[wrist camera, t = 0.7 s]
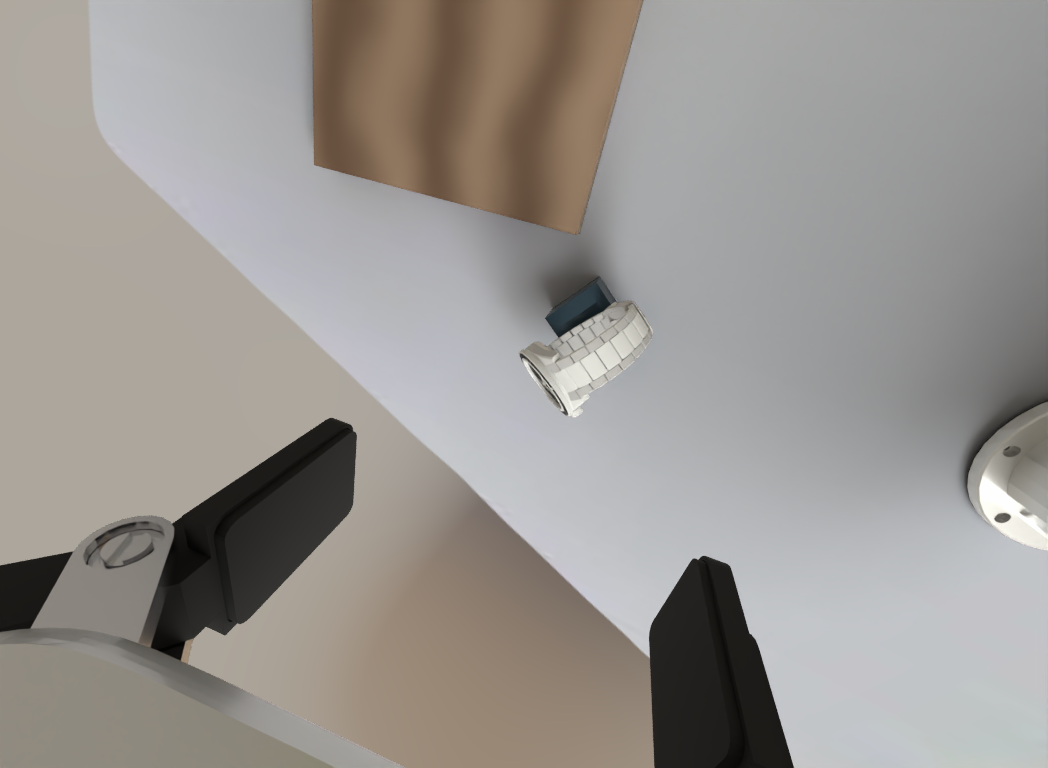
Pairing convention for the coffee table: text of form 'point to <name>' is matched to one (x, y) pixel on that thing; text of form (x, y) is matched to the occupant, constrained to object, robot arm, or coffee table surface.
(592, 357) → the watch
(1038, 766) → the coffee table surface
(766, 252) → the coffee table surface
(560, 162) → the walnut board
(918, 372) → the coffee table surface
